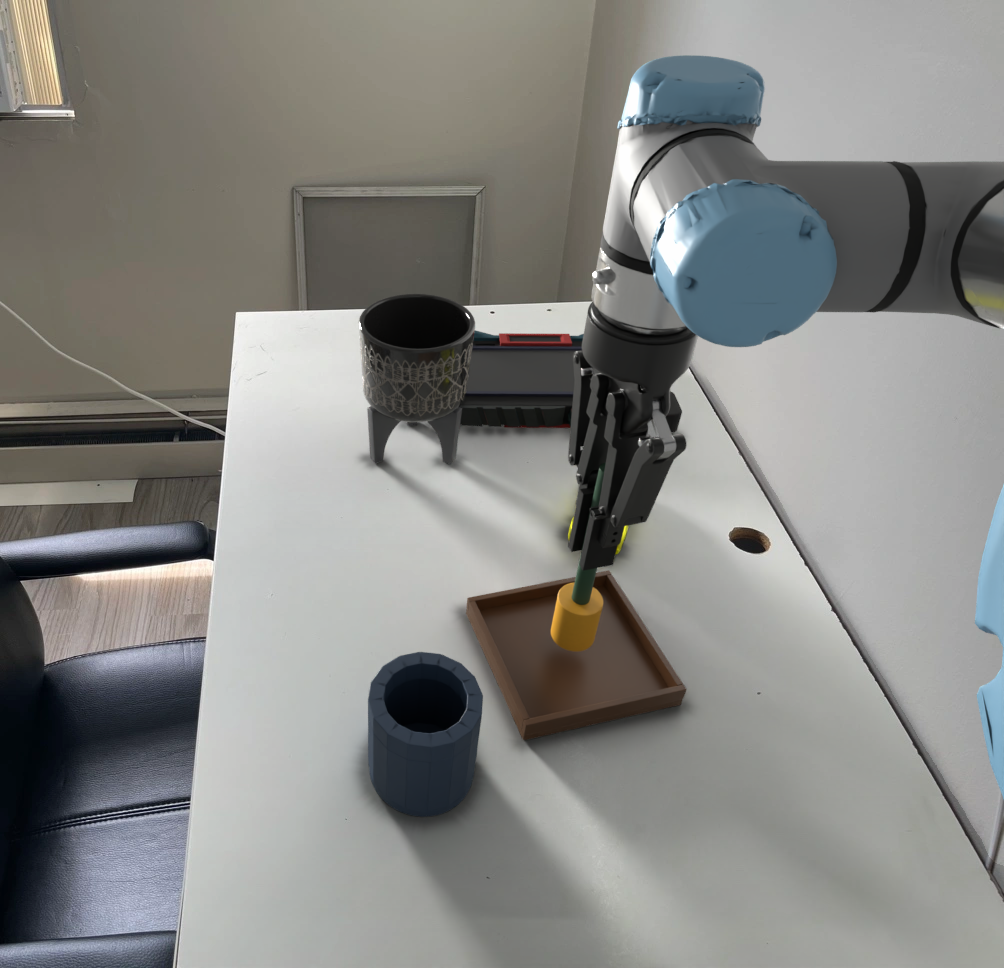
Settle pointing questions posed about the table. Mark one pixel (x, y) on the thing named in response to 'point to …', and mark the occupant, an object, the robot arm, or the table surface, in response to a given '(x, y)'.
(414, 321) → the planter
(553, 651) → the tray
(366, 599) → the table surface
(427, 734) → the jar
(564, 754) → the table surface
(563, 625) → the brush
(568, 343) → the electronic device
